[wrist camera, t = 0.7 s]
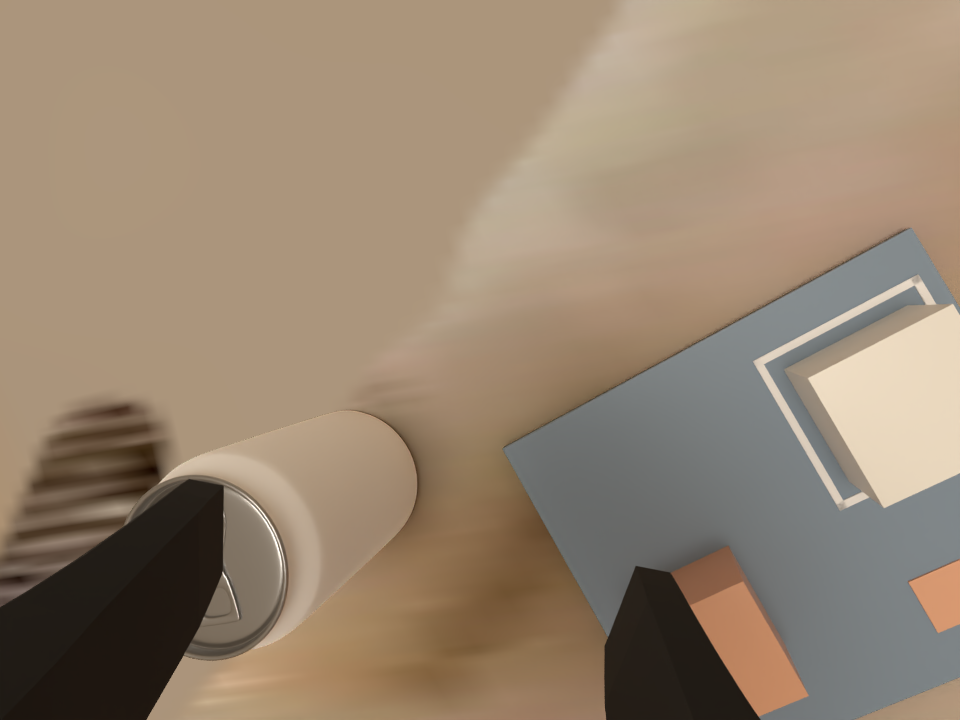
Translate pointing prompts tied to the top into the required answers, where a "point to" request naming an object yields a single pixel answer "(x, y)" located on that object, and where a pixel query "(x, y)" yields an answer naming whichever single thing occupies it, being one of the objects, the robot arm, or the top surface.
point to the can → (295, 521)
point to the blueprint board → (765, 494)
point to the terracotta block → (741, 630)
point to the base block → (889, 401)
